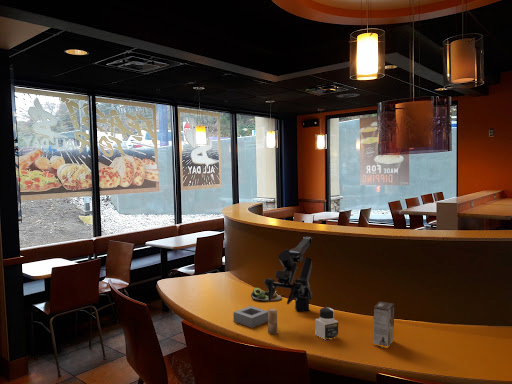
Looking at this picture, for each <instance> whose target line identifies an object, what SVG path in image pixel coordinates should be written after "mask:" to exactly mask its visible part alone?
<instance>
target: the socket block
mask: <svg viewBox="0 0 512 384" xmlns="http://www.w3.org/2000/svg"><path fill="white" fill-rule="evenodd" d="M233 322H234V323H237V324H241V325H243V326H246V327H249V328H251V329H252V328H255V327H258V326H259V325H260V326H261V325H262V324H265V323H268V310H265V309H261V308H259V307H256V306H253V305H249V306H246V307H244V308H241V309H238V310H236V311H233Z"/></svg>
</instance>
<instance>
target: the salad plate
mask: <svg viewBox="0 0 512 384" xmlns="http://www.w3.org/2000/svg"><path fill="white" fill-rule="evenodd" d="M276 292H277V290H275V292H274V294H273V297H272V299H271V301H269V289H268V290H262V289H261V288H260V287H255V288H253V290H252V292H251V293H250V296H251V299H252V300H253V301H254V302H264V303H266V302H275V301H280V300H281V299H282V295H278V294H277V293H276Z"/></svg>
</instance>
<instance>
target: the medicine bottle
mask: <svg viewBox="0 0 512 384" xmlns="http://www.w3.org/2000/svg"><path fill="white" fill-rule="evenodd" d="M314 326H315V327H314V328H315V330H314V331H315V333H314V334H315V336H317V337H318V336H319V338H320V337H321V338H320V339H322V338H323V339H324V340H323V339H322V340H323V341H325V340H326V339H329V338H334V337H338V338H339V321H338V320H336V319H335V309H333V308H331V307H323V308H320V309H319V317H318V318H315V325H314ZM334 339H335V338H334ZM326 341H327V340H326Z"/></svg>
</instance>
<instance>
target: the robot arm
mask: <svg viewBox="0 0 512 384" xmlns="http://www.w3.org/2000/svg"><path fill="white" fill-rule="evenodd" d="M311 237H312V236H306V237H305V236H303V237H302V240H301V241H300V242H299V243H298V244H297V245H296V247H293V248H291V249H287V248H286V249H284V251H281V252H280V253H279V255H278V260H279V262H280V264H281V265H282V267H283V270H276V272H275V276H274V278H276V279H277V281H278V282H277V281H275V279H274V278H268V277H267V278H265V279H264V280H263V284H264V285H265V287H266V289H268V290H269V299H268V300H269V301H268V302H272V301H271V299H273V298H272V297H273V294H274V292H275V291H276V288H282V289H287V290H290V293H289V295H288V298H287V302H286V304H287V305H289V304H290V303H292V301H294V309H295V310H296V312H311V311H310V300H312V299H313V292H312V290H311V285H310V283H309V282H310V277H311V273H312V269H313V266H312V259H310V258H308V257H306V256H305V258H304V254H306V250H307V249H308V248H309V246H310V245H311V244H312V238H313V237H312V238H311ZM303 260H304V262H303V265H302V268H301V273H300V276H299V278H298V279H295V274H296V272H297V271H298V270H299V269H298V265H297V264H300V263H301V262H302V261H303ZM293 281H294V282H293Z"/></svg>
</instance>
